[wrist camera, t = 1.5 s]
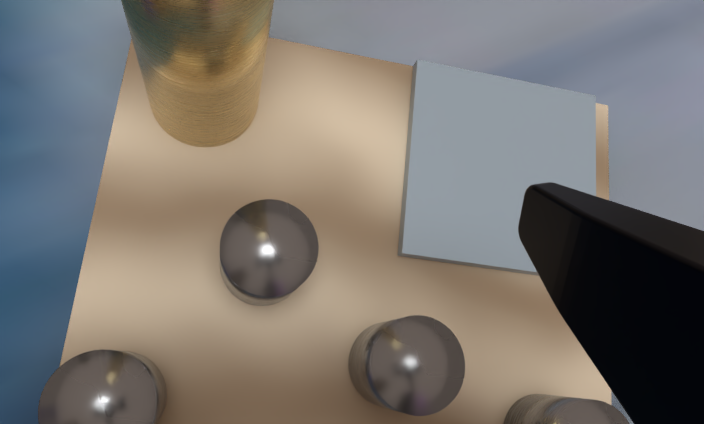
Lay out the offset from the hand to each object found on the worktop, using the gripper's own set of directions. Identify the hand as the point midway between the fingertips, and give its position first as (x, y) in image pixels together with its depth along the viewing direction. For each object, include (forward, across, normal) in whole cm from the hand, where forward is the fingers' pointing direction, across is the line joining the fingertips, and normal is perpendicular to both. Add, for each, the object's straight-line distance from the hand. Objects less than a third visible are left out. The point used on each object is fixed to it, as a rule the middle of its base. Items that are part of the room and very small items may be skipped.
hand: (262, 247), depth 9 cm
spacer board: (+10, -5, +9) cm, 15 cm away
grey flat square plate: (+12, -11, +7) cm, 18 cm away
